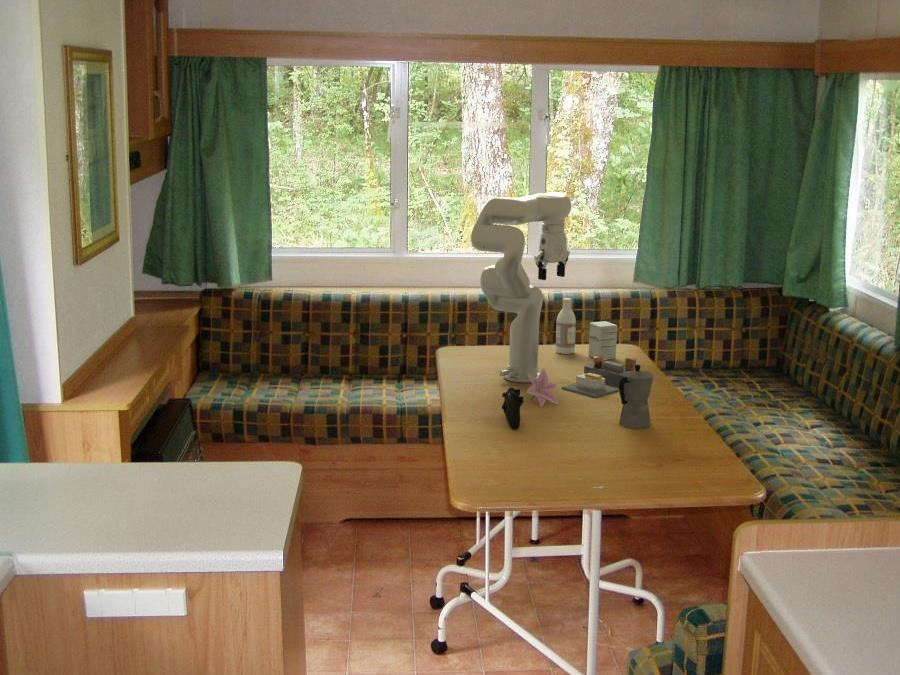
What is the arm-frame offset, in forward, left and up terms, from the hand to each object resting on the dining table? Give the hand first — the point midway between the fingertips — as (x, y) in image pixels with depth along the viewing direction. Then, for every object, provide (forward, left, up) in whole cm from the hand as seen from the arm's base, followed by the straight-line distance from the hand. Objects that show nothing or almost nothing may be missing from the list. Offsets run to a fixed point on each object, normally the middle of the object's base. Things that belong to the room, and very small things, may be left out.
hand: (551, 277), depth 388 cm
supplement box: (+20, -8, -31) cm, 37 cm away
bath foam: (+16, +6, -31) cm, 35 cm away
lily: (-39, -31, -31) cm, 59 cm away
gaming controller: (-61, -39, -31) cm, 79 cm away
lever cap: (-16, -32, -30) cm, 46 cm away
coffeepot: (-36, -64, -31) cm, 80 cm away
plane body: (-2, -30, -30) cm, 43 cm away
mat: (-16, -32, -30) cm, 47 cm away
